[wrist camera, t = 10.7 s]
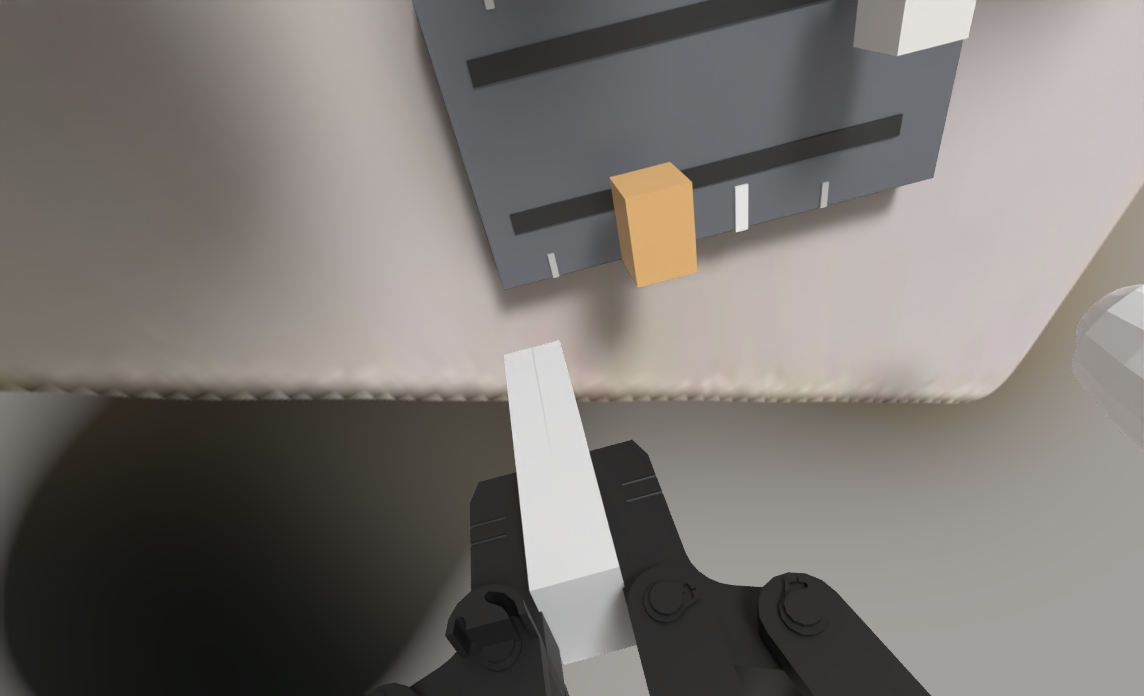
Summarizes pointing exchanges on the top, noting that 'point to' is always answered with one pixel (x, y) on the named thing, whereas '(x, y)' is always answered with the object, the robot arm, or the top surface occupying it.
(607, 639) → the robot arm
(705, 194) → the console
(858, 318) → the top surface
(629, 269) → the fader orange
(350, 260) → the top surface
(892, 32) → the fader white
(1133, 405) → the cup
